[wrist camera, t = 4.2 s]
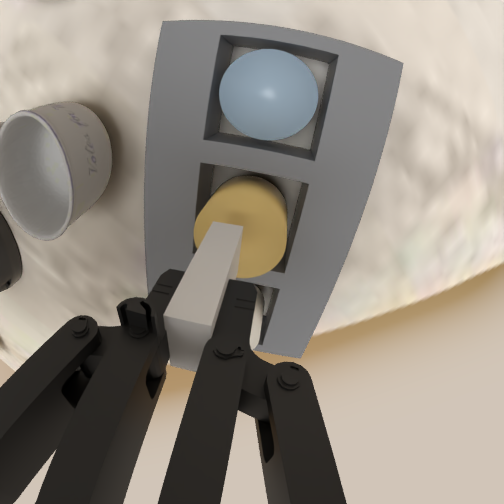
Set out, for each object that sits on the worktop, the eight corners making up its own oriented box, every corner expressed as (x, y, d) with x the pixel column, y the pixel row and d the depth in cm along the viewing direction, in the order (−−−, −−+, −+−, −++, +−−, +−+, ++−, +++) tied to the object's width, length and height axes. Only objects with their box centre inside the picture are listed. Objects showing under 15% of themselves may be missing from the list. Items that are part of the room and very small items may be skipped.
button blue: (227, 125, 19) (212, 131, 15) (239, 53, 16) (227, 43, 12) (303, 140, 19) (307, 149, 15) (319, 68, 16) (326, 60, 12)
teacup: (150, 147, 21) (92, 176, 14) (94, 224, 25) (46, 267, 19) (64, 61, 16) (1, 66, 10) (23, 143, 21) (-29, 166, 14)
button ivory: (200, 315, 26) (188, 346, 23) (204, 268, 23) (189, 299, 20) (258, 328, 26) (252, 361, 22) (270, 283, 23) (266, 316, 19)
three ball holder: (165, 299, 29) (151, 324, 26) (184, 32, 15) (162, 21, 12) (300, 329, 29) (300, 358, 25) (383, 68, 15) (403, 63, 12)
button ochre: (207, 238, 21) (191, 267, 18) (214, 168, 18) (197, 186, 15) (278, 253, 21) (275, 285, 18) (295, 184, 18) (296, 206, 15)
